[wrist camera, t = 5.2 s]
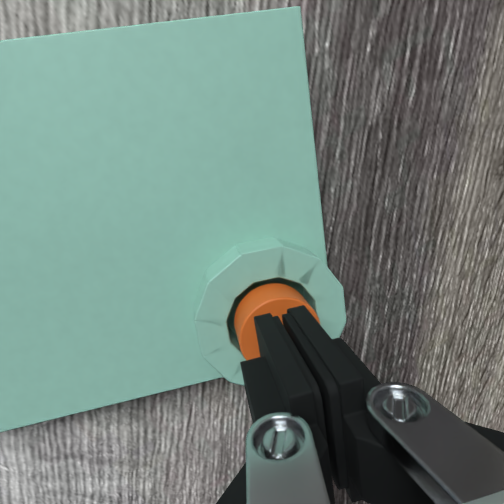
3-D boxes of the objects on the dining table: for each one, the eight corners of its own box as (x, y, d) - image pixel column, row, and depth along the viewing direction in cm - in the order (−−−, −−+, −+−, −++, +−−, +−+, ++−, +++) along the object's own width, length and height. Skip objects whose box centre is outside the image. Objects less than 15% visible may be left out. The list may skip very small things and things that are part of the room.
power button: (303, 275, 13) (317, 288, 12) (311, 342, 14) (326, 363, 12) (227, 291, 13) (232, 308, 11) (240, 359, 14) (246, 383, 12)
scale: (290, 20, 13) (317, -19, 10) (325, 335, 17) (352, 369, 14) (-169, 76, 11) (-291, 46, 8) (-12, 416, 15) (-60, 475, 12)
